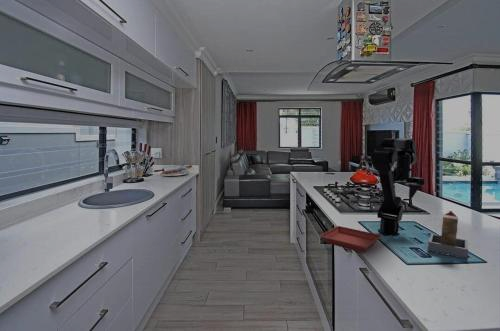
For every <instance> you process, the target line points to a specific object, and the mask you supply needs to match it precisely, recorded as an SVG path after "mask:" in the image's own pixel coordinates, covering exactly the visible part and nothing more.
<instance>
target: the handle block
mask: <svg viewBox="0 0 500 331" xmlns="http://www.w3.org/2000/svg"><path fill="white" fill-rule="evenodd" d="M456 216H457V215H456ZM456 216H449V215H445V214H443V216H442V226H441V235H442V236H441V244H446V245H451V246H455V245H456V238H457V234H458V232H457V231H458V223H459V222H458V221H459V216H457V217H456Z"/></svg>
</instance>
